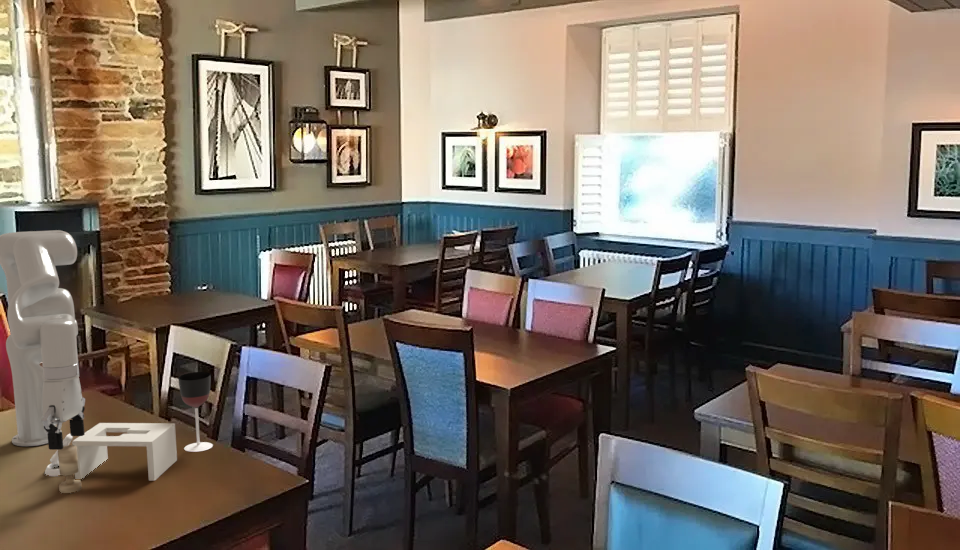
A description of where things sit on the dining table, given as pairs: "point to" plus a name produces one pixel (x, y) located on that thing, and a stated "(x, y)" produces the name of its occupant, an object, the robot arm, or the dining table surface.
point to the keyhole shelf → (139, 434)
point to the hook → (57, 459)
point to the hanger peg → (68, 469)
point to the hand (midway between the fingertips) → (67, 442)
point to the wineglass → (195, 401)
